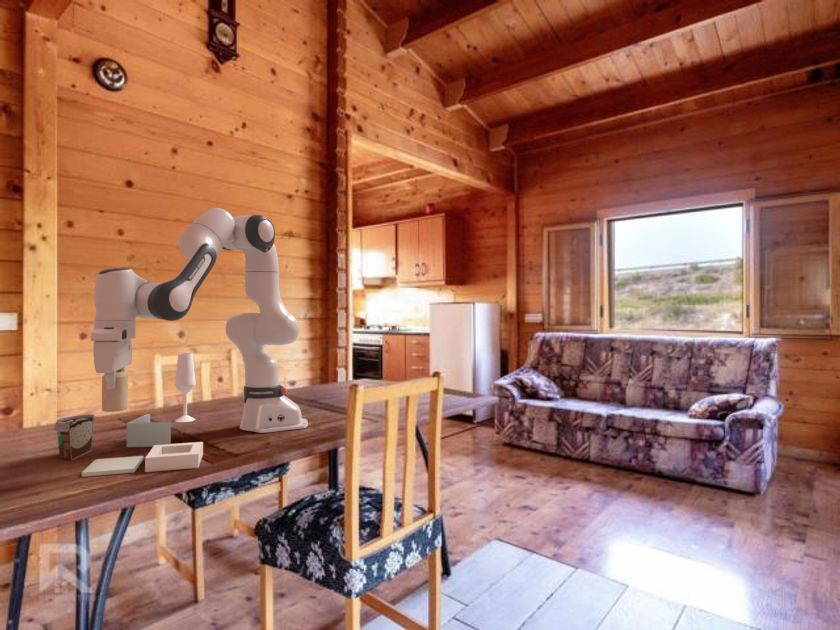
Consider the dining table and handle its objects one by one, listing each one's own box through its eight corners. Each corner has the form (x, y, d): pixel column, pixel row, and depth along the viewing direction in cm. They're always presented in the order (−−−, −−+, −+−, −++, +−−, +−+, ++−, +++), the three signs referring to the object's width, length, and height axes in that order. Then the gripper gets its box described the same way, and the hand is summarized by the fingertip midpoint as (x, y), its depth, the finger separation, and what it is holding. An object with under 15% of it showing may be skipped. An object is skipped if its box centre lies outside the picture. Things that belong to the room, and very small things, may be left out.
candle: (115, 412, 121) (115, 371, 121) (96, 411, 122) (96, 371, 122) (132, 408, 127) (132, 369, 127) (114, 407, 128) (114, 368, 128)
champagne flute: (172, 422, 174) (173, 354, 174) (177, 418, 180) (177, 352, 180) (193, 421, 175) (193, 354, 175) (197, 417, 182) (197, 352, 182)
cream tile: (143, 459, 132) (143, 455, 132) (134, 472, 121) (134, 468, 121) (95, 463, 128) (95, 459, 128) (81, 476, 118) (81, 472, 118)
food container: (72, 449, 140) (72, 414, 140) (94, 449, 141) (95, 414, 141) (42, 462, 128) (42, 424, 128) (67, 462, 128) (67, 424, 128)
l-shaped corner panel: (169, 448, 144) (169, 422, 144) (126, 448, 143) (126, 423, 143) (185, 437, 156) (186, 414, 156) (146, 438, 155) (146, 414, 155)
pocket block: (202, 454, 137) (203, 441, 137) (198, 467, 125) (198, 453, 125) (154, 458, 133) (154, 445, 133) (145, 472, 121) (145, 457, 121)
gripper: (112, 330, 133) (111, 381, 133) (88, 334, 114) (87, 394, 114) (138, 330, 135) (138, 380, 135) (119, 333, 116) (119, 392, 116)
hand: (115, 386), depth 124 cm, fingers closed on candle, 5 cm apart
